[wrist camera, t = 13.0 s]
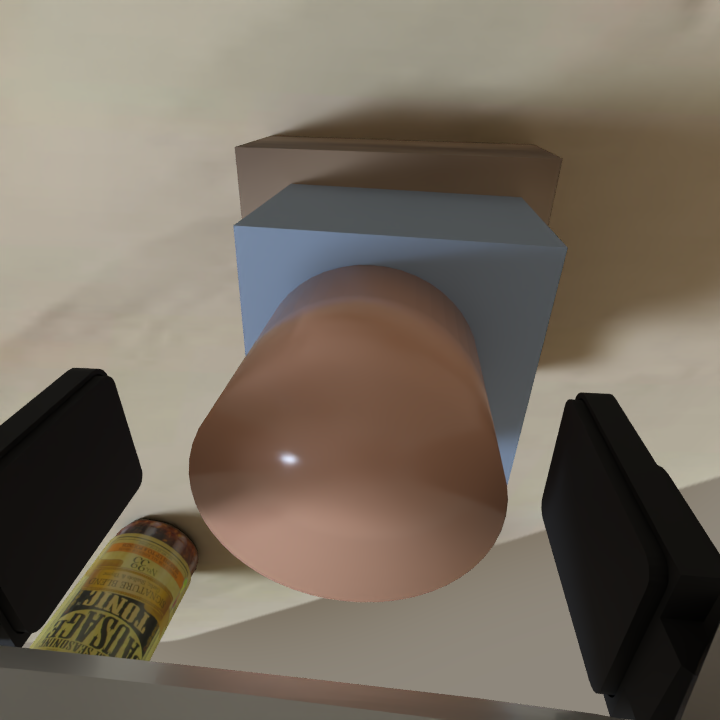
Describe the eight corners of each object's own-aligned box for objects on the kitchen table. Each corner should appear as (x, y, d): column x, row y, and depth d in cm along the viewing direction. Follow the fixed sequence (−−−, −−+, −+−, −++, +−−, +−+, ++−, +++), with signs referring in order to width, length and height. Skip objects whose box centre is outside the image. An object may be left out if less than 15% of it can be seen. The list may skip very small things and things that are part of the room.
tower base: (273, 135, 21) (234, 147, 17) (531, 143, 20) (562, 158, 16) (287, 355, 26) (260, 408, 22) (490, 370, 25) (505, 428, 21)
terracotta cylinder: (252, 259, 12) (161, 353, 8) (493, 269, 12) (537, 377, 7) (271, 445, 15) (213, 586, 11) (464, 459, 15) (483, 615, 10)
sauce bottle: (214, 538, 34) (1, 1001, 17) (186, 583, 37) (-20, 1016, 20) (127, 497, 33) (-197, 947, 16) (105, 547, 36) (-188, 971, 19)
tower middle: (291, 183, 17) (233, 225, 12) (521, 197, 16) (567, 247, 11) (297, 376, 21) (256, 470, 16) (483, 393, 20) (504, 497, 15)
